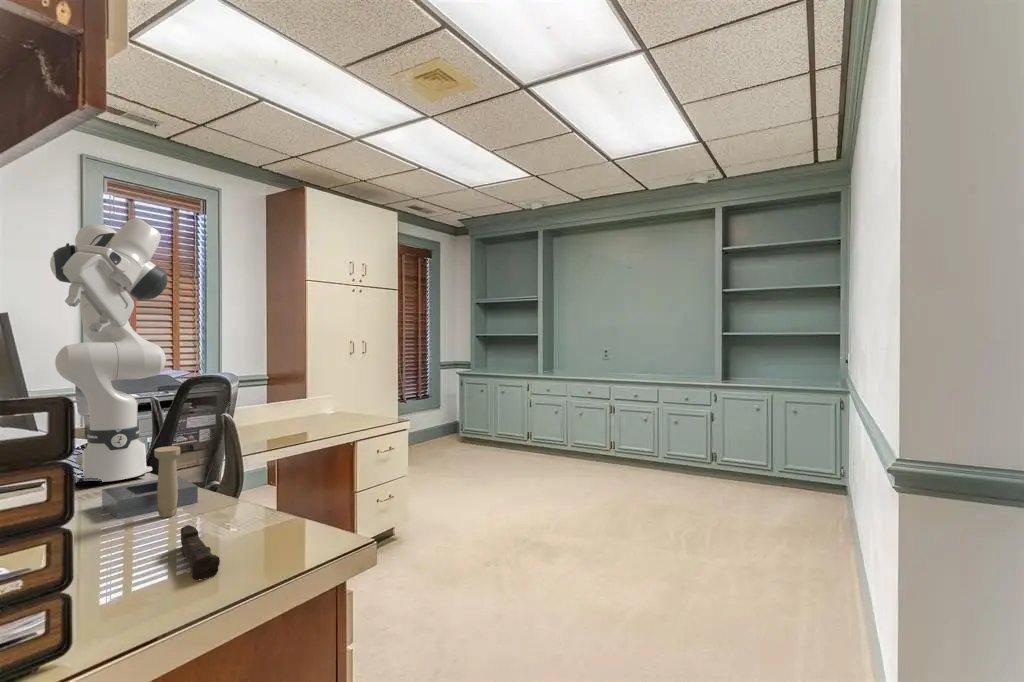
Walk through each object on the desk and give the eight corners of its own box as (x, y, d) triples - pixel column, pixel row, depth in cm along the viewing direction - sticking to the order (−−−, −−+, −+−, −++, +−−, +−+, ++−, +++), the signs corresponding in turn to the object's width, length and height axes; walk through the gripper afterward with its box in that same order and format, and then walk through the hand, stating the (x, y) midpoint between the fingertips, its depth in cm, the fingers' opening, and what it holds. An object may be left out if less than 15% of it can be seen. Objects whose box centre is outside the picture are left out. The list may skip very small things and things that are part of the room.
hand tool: (220, 577, 88) (220, 549, 88) (192, 584, 86) (192, 555, 86) (201, 543, 103) (202, 519, 103) (177, 548, 101) (177, 524, 101)
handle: (154, 521, 115) (154, 452, 115) (155, 513, 120) (155, 447, 120) (180, 517, 118) (180, 450, 118) (180, 510, 123) (180, 445, 123)
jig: (102, 506, 126) (102, 489, 126) (178, 491, 138) (178, 476, 138) (117, 519, 117) (117, 500, 117) (197, 502, 129) (197, 485, 129)
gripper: (122, 299, 134) (92, 343, 126) (77, 239, 118) (39, 285, 109) (148, 302, 134) (119, 346, 126) (106, 243, 118) (70, 289, 110)
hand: (82, 318), depth 118 cm, fingers open, 8 cm apart
